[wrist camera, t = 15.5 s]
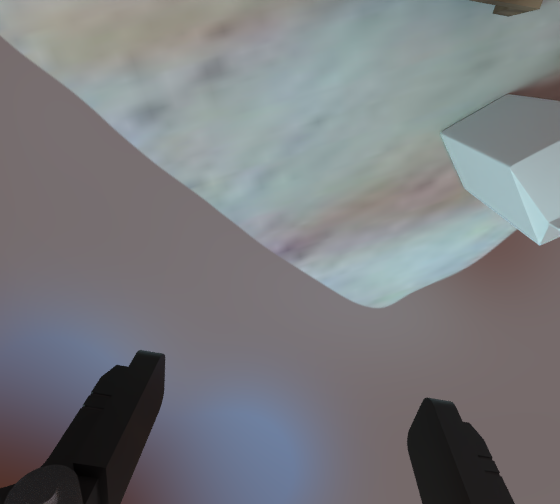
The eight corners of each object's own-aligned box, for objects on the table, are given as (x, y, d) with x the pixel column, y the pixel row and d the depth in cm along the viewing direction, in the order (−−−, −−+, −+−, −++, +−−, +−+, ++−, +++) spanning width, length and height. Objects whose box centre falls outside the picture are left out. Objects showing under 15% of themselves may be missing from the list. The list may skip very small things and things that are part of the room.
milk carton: (438, 132, 39) (542, 183, 22) (507, 93, 37) (679, 115, 20) (463, 188, 42) (574, 272, 25) (529, 154, 40) (699, 220, 23)
